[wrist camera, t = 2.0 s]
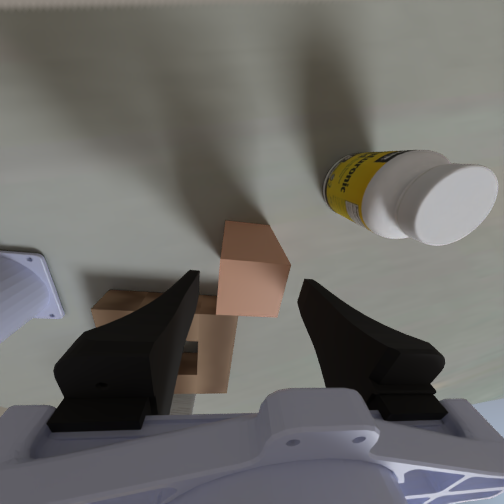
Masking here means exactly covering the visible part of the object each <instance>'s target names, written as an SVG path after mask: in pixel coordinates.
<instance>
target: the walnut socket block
mask: <svg viewBox="0 0 504 504" xmlns="http://www.w3.org/2000/svg"><path fill="white" fill-rule="evenodd" d="M162 294H163V293H157V292H140V291H123V290H109V291H108V292H107V293H106V294H105V295H104V296H103V297H102V298H101V299H100V300H99V301H98V302H97V303H96V304H95V305H94V306H93V307H92V308H91V312H92V315H93V319H94V322H95V326H96V328H97V327H99V326H102V325H105V324H107V323H110V322H112V321H115V320H117V319H119V318H122V317H124V316H126V315H128V314H130V313H132V312H134V311H136V310H138V309H140V308H141V307H143V306H145V305H147V304H149V303H150V302H152V301H153V300H155V299H156V298H158V297H159V296H161V295H162ZM216 307H217V296H209V295H199V298H198V303H197V308H196V311H195V314H194V317H193V320H192V323H191V326H190V329H189V332H188V335H187V338H186V341H198V353H182V358H181V362H180V367H179V371H178V376H177V380H176V385H175V390H174V394H205V393H227V388H228V381H229V374H230V367H231V361H232V354H233V347H234V340H235V334H236V327H237V320H238V316H234V315H216Z"/></svg>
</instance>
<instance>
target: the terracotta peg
mask: <svg viewBox="0 0 504 504" xmlns="http://www.w3.org/2000/svg"><path fill="white" fill-rule="evenodd" d="M290 267H291V264H290V262H289V260H288V258H287V256H286V255H285V253H284V251H283V249H282V247H281V245H280V244H279V242H278V240H277V238H276V236H275V234H274V233H273V231H272V229H271V227H270V225H262V224H253V223H245V222H236V221H227V220H226V221H225V228H224V236H223V243H222V251H221V258H220V270H219V282H218V294H217V307H216V315H234V316H256V317H277V316H278V313H279V309H280V305H281V301H282V297H283V294H284V290H285V286H286V282H287V278H288V275H289V271H290Z"/></svg>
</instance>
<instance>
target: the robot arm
mask: <svg viewBox="0 0 504 504" xmlns="http://www.w3.org/2000/svg"><path fill="white" fill-rule="evenodd" d="M31 258H32V259H31ZM199 274H200V271H196V270H189V271H188V272H187V273H186V274H185V275H184V276H183V277H182V278H181V279H180V280H179V281H178V282H177V283H175V284H174V285H173V286H172V287H171V288H170V289H168V290H167V291H166V292H164V293H163V294H162V295H161V296H159V297H158V298H156V299H155V300H153V301H152V302H150V303H149V304H147V305H145V306H143V307H141V308H140V309H138V310H136V311H134V312H132V313H130V314H128V315H126V316H124V317H122V318H119V319H117V320H115V321H112V322H110V323H107V324H105V325H102V326H99V327H97V328H94V329H91V330H88V331H85V332H84V333H83V334H82V335H81V336H80V337H79V338H78V339H77V340H76V341H75V342H74V343H73V345H72V346H71V347H70V348H69V349H68V350H67V352H66V353H65V354H64V355H63V356H62V357H61V359H60V360H59V361H58V362H57V363H56V364H55V367H54V370H53V371H54V376H55V379H56V381H57V383H58V385H59V387H60V390H61V392H62V394H63V396H64V399H63V400H62V402H61V403H60V405H59V406H58V408H57V409H56V408H55V407H53V406H50V405H14V406H11V407H9V408H8V409H7V410H6V411H5V413H4V414H3V415H2V416H1V417H0V504H454V503H460V502H466V501H473V500H482V499H489V498H493V497H495V496H497V495H499V494H501V493H503V492H504V438H503V437H502V436H501V435H500V434H499V433H498V432H497V431H496V430H495V429H494V428H493V427H492V426H491V425H490V424H489V423H488V422H487V421H486V420H485V419H484V418H483V416H482V415H481V414H480V413H479V412H478V411H477V410H476V409H475V408H474V407H473V406H472V405H471V404H470V403H469V402H468V401H467V400H466V399H443V400H441V401H438V399H437V398H436V397H435V396H434V395H433V394H435V393H436V390H435V389H434V388H433V387H432V385H431V384H430V383H431V382H432V381H433V380H434V379H435V378H436V377H437V376H438V374H439V373H440V372H441V371H442V369H443V368H444V365H445V358H444V357H443V355H442V354H441V353H440V352H438V351H437V350H436V349H435V348H434V347H433V346H432V345H431V344H430V343H428V342H425V341H423V340H420V339H417V338H414V337H412V336H409V335H406V334H404V333H401V332H399V331H397V330H394V329H392V328H390V327H387V326H385V325H383V324H381V323H379V322H377V321H375V320H373V319H371V318H369V317H367V316H366V315H364V314H362V313H361V312H359V311H357V310H355V309H354V308H352V307H351V306H349V305H348V304H346V303H345V302H343V301H342V300H340V299H339V298H338V297H336V296H335V295H334V294H332V293H331V292H329V291H328V290H327V289H326V288H324V287H323V286H322V285H320V284H319V283H317V282H316V281H314V280H313V279H304V282H303V285H302V288H301V292H300V295H299V298H298V301H297V302H298V307H299V310H300V314H301V317H302V319H303V322H304V324H305V326H306V329H307V331H308V333H309V336H310V338H311V340H312V343H313V345H314V348H315V351H316V354H317V357H318V361H319V364H320V367H321V371H322V374H323V378H324V382H325V386H326V388H288V389H282V390H277V391H275V392H273V393H271V394H269V395H268V396H267V397H266V399H265V400H264V401H263V403H262V404H261V406H260V410H259V413H236V414H193V415H170V410H171V405H172V400H173V395H174V390H175V385H176V380H177V376H178V371H179V367H180V362H181V358H182V353H183V349H184V345H185V342H186V338H187V335H188V332H189V329H190V326H191V323H192V320H193V317H194V314H195V311H196V308H197V303H198V298H199ZM64 315H65V313H64V310H63V308H62V305H61V302H60V299H59V297H58V294H57V291H56V288H55V286H54V283H53V280H52V277H51V274H50V272H49V269H48V266H47V263H46V261H45V258H44V256H42V255H41V254H38V253H26V252H13V251H0V343H2V342H3V341H4V340H5V339H7V338H8V337H9V336H10V335H12V334H13V333H14V332H15V331H17V330H18V329H19V328H20V327H22V326H23V325H24V324H26V323H27V322H28V321H29V320H31V319H32V318H49V319H61V318H62V317H63V316H64Z"/></svg>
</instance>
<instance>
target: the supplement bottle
mask: <svg viewBox="0 0 504 504" xmlns="http://www.w3.org/2000/svg"><path fill="white" fill-rule="evenodd" d="M497 193H498V180H497V178H496V176H495V174H494V172H493V171H492V170H490V169H489V168H487V167H485V166H482V165H475V164H456V163H452V164H451V162H450V161H449V160H448V159H447V158H446V157H445V156H443V155H442V154H440V153H438V152H434V151H429V150H407V151H387V152H365V153H355V154H351V155H348V156H346V157H344V158H342V159H340V160H339V161H338V162H337V163H335V164H334V165H333V167H332V168H331V169H330V171H329V172H328V174H327V176H326V178H325V181H324V185H323V195H324V199H325V202H326V204H327V205H328V206H329V207H330V209H332V210H333V211H334V212H336V213H338V214H340V215H341V216H343V217H345V218H347V219H349V220H351V221H353V222H355V223H357V224H358V225H360V226H362V227H364V228H366V229H368V230H370V231H372V232H373V233H375V234H378V235H380V236H382V237H386V238H391V239H401V238H407V237H411V238H413V239H415V240H418V241H420V242H423V243H425V244H428V245H434V246H439V245H446V244H449V243H452V242H455V241H457V240H459V239H461V238H463V237H465V236H466V235H468V234H469V233H470V232H472V231H473V230H474V229H475V228H476V227H478V226H479V225H480V223H481V222H482V221H483V220H484V219H485V218H486V216H487V215H488V214H489V212H490V211H491V209H492V207H493V205H494V203H495V200H496V197H497Z"/></svg>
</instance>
